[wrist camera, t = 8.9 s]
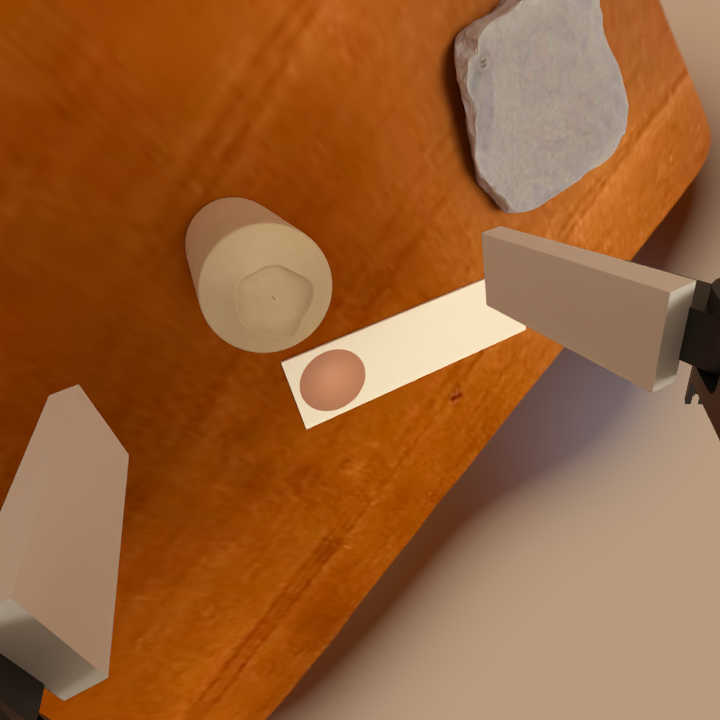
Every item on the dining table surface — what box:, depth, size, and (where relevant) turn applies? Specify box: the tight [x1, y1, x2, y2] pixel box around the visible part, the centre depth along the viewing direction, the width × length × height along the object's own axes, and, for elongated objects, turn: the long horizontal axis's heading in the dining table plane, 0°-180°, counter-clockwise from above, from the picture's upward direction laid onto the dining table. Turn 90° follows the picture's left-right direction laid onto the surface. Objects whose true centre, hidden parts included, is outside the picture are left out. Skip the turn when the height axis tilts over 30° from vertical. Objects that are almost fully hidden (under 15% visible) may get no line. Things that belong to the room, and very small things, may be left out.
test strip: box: [281, 278, 526, 429], centre depth 33 cm, size 20×6×1 cm, turn 104°
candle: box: [185, 197, 332, 353], centre depth 21 cm, size 6×6×10 cm
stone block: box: [454, 0, 629, 213], centre depth 27 cm, size 12×5×10 cm
